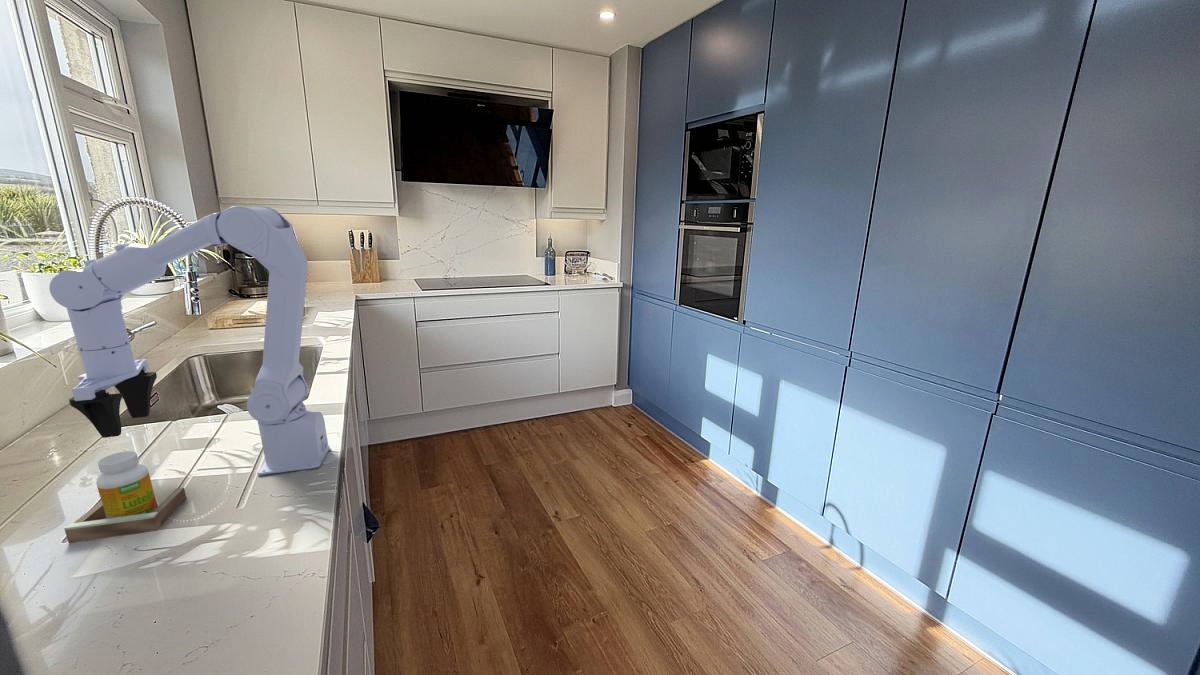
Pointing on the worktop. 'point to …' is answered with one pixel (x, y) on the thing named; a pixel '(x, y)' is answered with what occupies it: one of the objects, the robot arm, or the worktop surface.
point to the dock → (122, 520)
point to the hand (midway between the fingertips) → (127, 426)
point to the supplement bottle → (125, 486)
